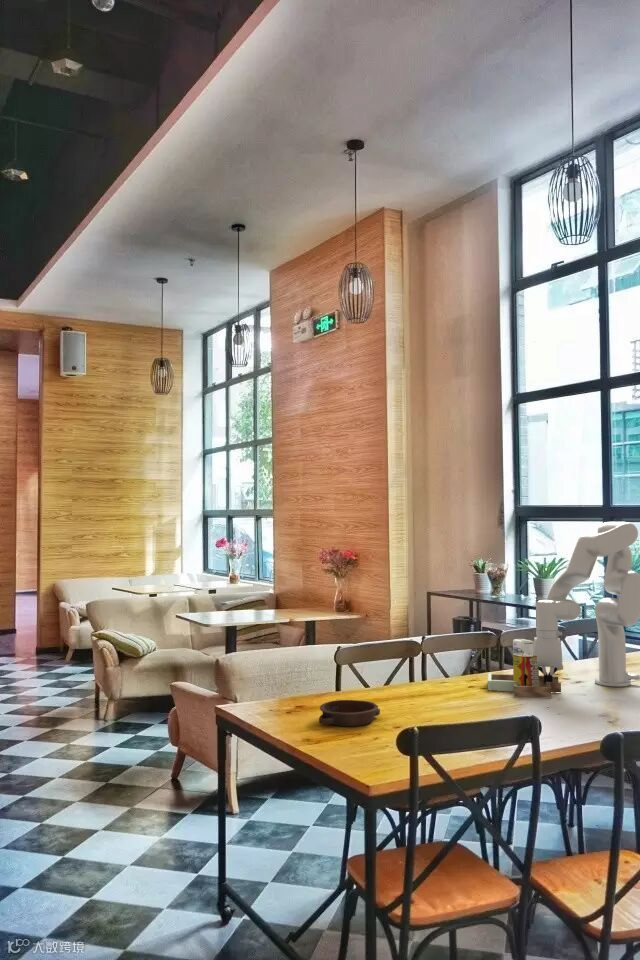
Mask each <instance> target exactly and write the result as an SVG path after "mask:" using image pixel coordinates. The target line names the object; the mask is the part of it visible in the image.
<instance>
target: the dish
mask: <svg viewBox="0 0 640 960" xmlns="http://www.w3.org/2000/svg"><path fill="white" fill-rule="evenodd" d="M319 710H320V712H322V714H321V715H320V716H319V717H318V722H319V723H320V724H321V725H333V726H339V727H350V728H351V727H359V726H364V725H367V724H370V723H372V722H374V719H375V717H377V716H379V715H380V714H381V708H379V705H378V704H377V703H374V702H372V701H368V700H367V701H366V700H360V699H359V700H358V699H337V700H331V701H330V700H329V701H327V702H323V703H322V704H320V705H319Z"/></svg>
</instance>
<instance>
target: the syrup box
mask: <svg viewBox="0 0 640 960" xmlns="http://www.w3.org/2000/svg"><path fill="white" fill-rule="evenodd" d="M533 644H534V640H530V639H525V638H515V639H512V655H513V654H514V653H533Z"/></svg>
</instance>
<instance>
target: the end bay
mask: <svg viewBox="0 0 640 960" xmlns="http://www.w3.org/2000/svg"><path fill="white" fill-rule="evenodd" d="M491 674H492V673H490V672H489V673H488V674H487V691H488V690H490V691H489V692H491V690H497V691H496V692H514V681H506V680H492V677H491ZM515 682H517V681H515Z"/></svg>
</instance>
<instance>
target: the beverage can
mask: <svg viewBox="0 0 640 960" xmlns="http://www.w3.org/2000/svg"><path fill="white" fill-rule="evenodd" d="M512 665H513V666H512V667H513V668H512V671H513V672H512V673H513V679H514V681H517V685H518V686H537V687H540V686H539V675H540V670H539V666H537V656H534V655H533V653H514V654H513V653H512Z"/></svg>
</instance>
